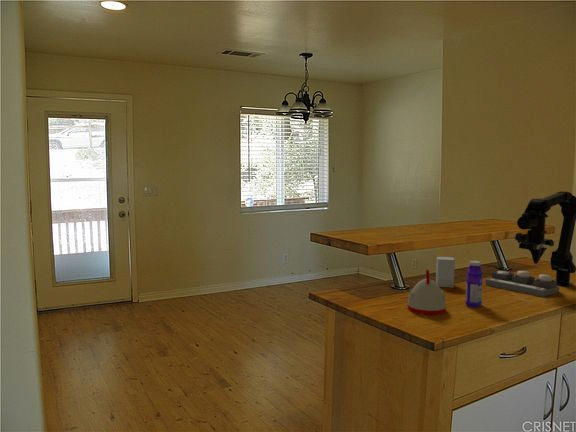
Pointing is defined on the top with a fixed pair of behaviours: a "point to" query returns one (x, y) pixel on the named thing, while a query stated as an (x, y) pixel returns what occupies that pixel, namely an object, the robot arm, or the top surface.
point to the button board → (523, 284)
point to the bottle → (474, 285)
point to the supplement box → (445, 271)
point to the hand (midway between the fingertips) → (535, 263)
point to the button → (502, 272)
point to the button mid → (523, 274)
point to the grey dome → (427, 298)
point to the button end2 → (545, 278)
